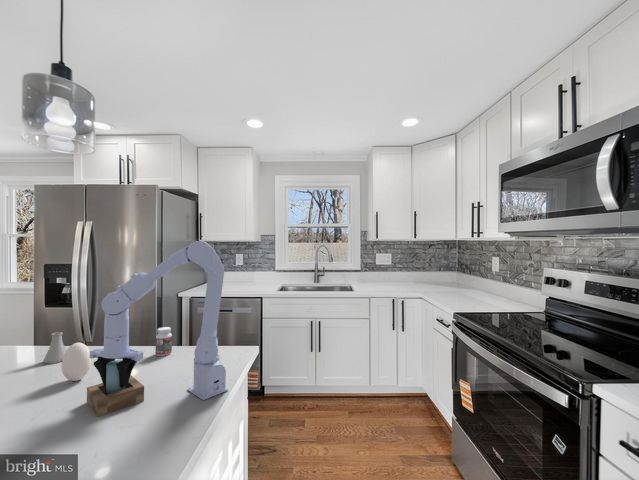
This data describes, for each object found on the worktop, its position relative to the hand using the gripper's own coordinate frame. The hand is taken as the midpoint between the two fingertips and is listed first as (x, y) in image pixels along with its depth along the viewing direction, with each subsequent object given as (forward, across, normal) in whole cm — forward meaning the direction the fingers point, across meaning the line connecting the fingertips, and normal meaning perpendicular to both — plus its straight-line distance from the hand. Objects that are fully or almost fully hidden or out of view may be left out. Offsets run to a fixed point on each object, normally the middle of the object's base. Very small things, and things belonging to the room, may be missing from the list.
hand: (115, 385), depth 84 cm
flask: (+5, +44, -24) cm, 50 cm away
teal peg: (+3, 0, 0) cm, 3 cm away
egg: (+5, +22, -10) cm, 25 cm away
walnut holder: (+4, 0, 0) cm, 4 cm away
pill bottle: (+5, +10, -36) cm, 37 cm away
